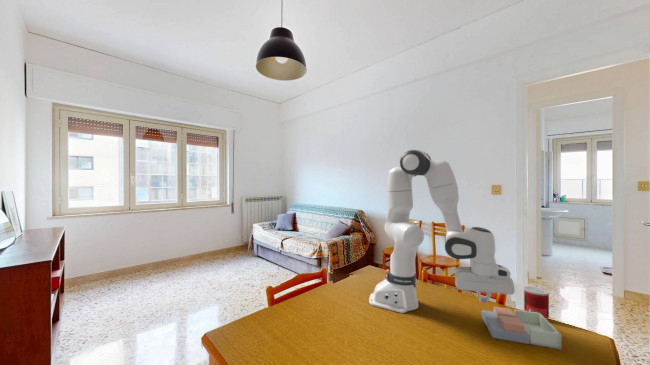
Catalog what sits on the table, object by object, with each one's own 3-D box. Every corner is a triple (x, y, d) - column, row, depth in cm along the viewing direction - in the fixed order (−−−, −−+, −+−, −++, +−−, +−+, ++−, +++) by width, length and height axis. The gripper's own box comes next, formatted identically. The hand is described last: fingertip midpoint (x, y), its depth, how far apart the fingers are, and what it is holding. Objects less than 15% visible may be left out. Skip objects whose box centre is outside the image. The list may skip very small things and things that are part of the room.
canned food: (553, 321, 102) (553, 294, 102) (530, 319, 104) (530, 293, 104) (541, 312, 110) (541, 287, 110) (520, 310, 111) (520, 285, 111)
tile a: (498, 320, 98) (498, 313, 98) (493, 312, 104) (493, 306, 104) (516, 322, 96) (516, 316, 96) (510, 315, 102) (510, 308, 102)
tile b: (504, 330, 91) (504, 323, 91) (499, 321, 97) (499, 314, 97) (524, 333, 89) (524, 326, 89) (517, 324, 95) (517, 317, 95)
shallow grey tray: (492, 337, 92) (492, 329, 92) (481, 316, 106) (481, 309, 106) (529, 344, 88) (529, 335, 88) (512, 321, 102) (513, 314, 102)
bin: (530, 344, 88) (530, 329, 88) (514, 321, 102) (514, 309, 102) (561, 349, 85) (561, 334, 85) (540, 325, 99) (540, 313, 99)
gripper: (455, 268, 102) (456, 302, 102) (515, 272, 96) (516, 309, 96) (453, 263, 108) (454, 295, 108) (509, 267, 101) (510, 301, 102)
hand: (483, 301), depth 102 cm, fingers closed
